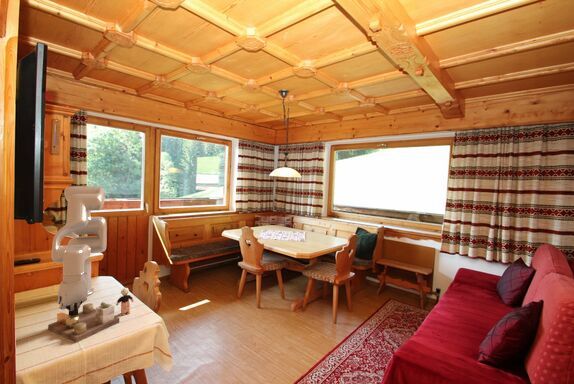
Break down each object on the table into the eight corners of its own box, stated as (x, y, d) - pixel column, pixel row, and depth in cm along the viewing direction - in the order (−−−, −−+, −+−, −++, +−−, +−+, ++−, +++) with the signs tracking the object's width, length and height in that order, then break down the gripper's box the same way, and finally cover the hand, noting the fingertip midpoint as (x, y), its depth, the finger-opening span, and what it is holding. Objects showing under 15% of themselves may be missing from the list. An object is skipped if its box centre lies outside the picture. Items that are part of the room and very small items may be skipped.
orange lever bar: (81, 325, 122) (81, 316, 122) (69, 329, 118) (70, 321, 118) (65, 318, 127) (65, 310, 127) (53, 322, 123) (53, 314, 123)
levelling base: (48, 329, 122) (48, 307, 121) (91, 312, 138) (91, 292, 138) (76, 342, 114) (76, 319, 113) (119, 322, 130) (119, 301, 130)
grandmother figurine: (130, 309, 142) (130, 284, 141) (134, 312, 140) (135, 286, 139) (114, 315, 136) (114, 289, 135) (118, 318, 134) (118, 291, 133)
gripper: (86, 270, 133) (85, 309, 134) (48, 280, 120) (48, 323, 121) (96, 273, 130) (96, 312, 131) (59, 284, 117) (59, 328, 118)
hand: (73, 317), depth 126 cm, fingers closed
